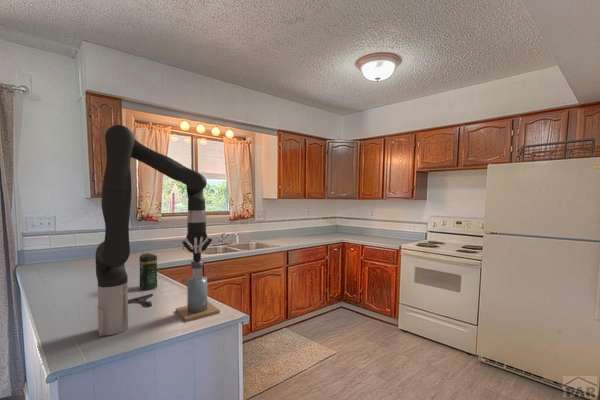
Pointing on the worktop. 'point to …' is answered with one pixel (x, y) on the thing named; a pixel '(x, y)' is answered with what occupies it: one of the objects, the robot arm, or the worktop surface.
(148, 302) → the bracket
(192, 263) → the grey dome cap
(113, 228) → the robot arm
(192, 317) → the soap dispenser
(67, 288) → the worktop surface
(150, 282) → the coffee jar
